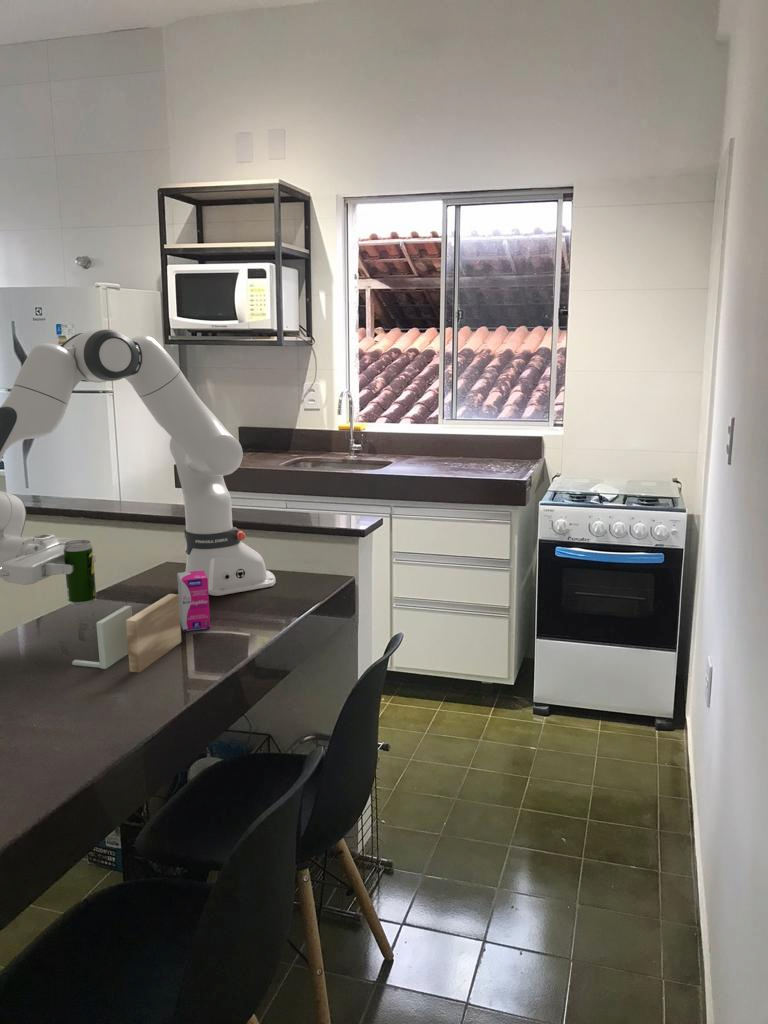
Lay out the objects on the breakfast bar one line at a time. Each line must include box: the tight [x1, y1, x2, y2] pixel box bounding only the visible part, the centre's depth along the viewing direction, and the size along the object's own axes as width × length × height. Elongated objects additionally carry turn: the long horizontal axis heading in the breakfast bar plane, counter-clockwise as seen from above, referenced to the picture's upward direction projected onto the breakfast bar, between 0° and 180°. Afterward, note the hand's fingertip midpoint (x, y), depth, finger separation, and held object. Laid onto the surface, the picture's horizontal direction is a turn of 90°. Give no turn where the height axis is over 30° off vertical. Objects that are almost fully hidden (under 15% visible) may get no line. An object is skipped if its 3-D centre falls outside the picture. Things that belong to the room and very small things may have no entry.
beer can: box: [64, 539, 97, 606], centre depth 166 cm, size 5×5×12 cm
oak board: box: [126, 593, 182, 673], centre depth 162 cm, size 2×16×10 cm, turn 165°
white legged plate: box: [71, 605, 133, 670], centre depth 162 cm, size 7×10×9 cm
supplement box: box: [176, 571, 211, 632], centre depth 178 cm, size 6×6×12 cm
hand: (83, 564), depth 166 cm, fingers closed on beer can, 5 cm apart
